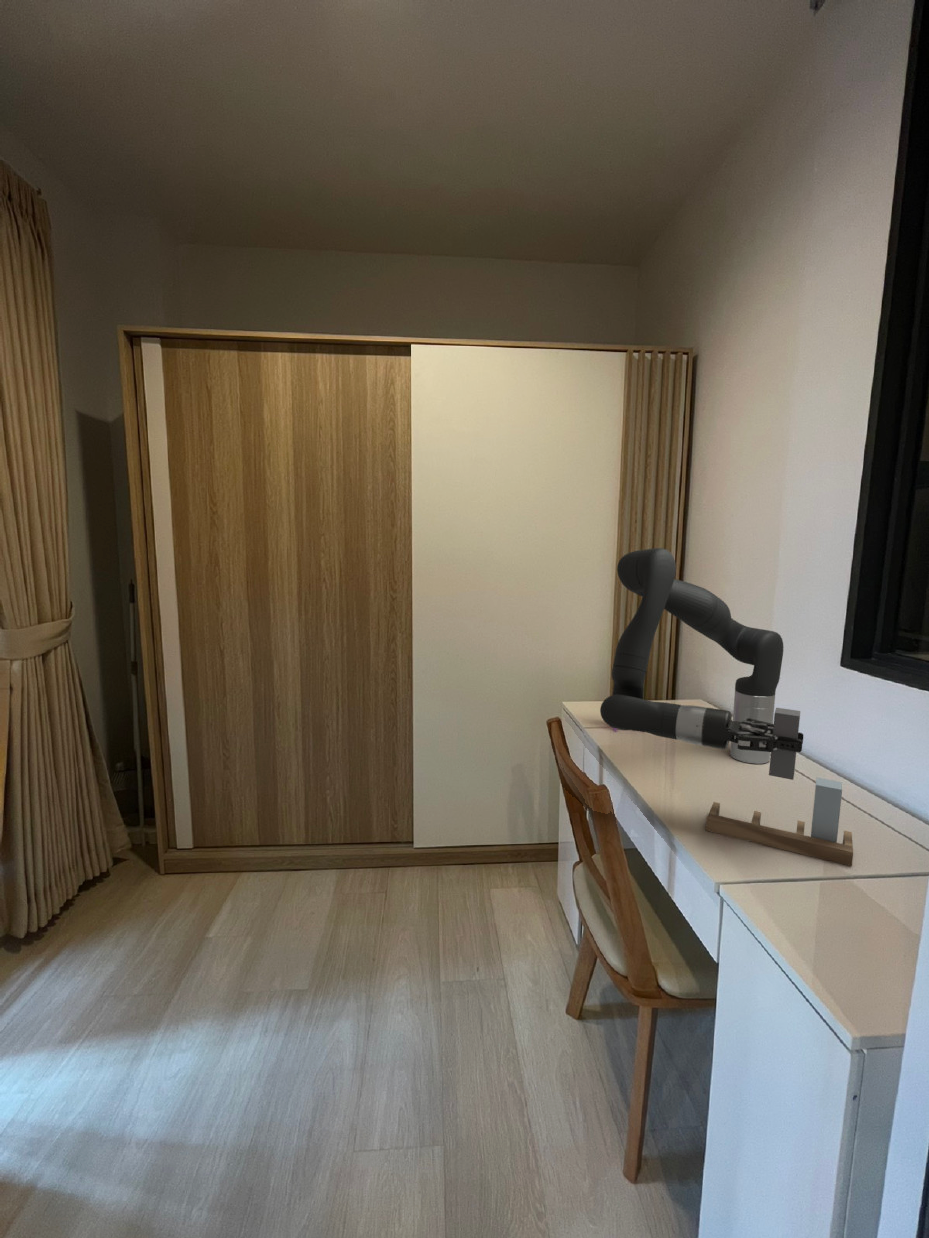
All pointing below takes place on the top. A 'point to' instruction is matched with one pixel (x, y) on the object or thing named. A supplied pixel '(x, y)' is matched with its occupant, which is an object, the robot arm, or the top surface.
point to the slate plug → (826, 809)
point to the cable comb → (781, 837)
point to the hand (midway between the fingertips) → (802, 742)
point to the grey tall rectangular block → (787, 727)
